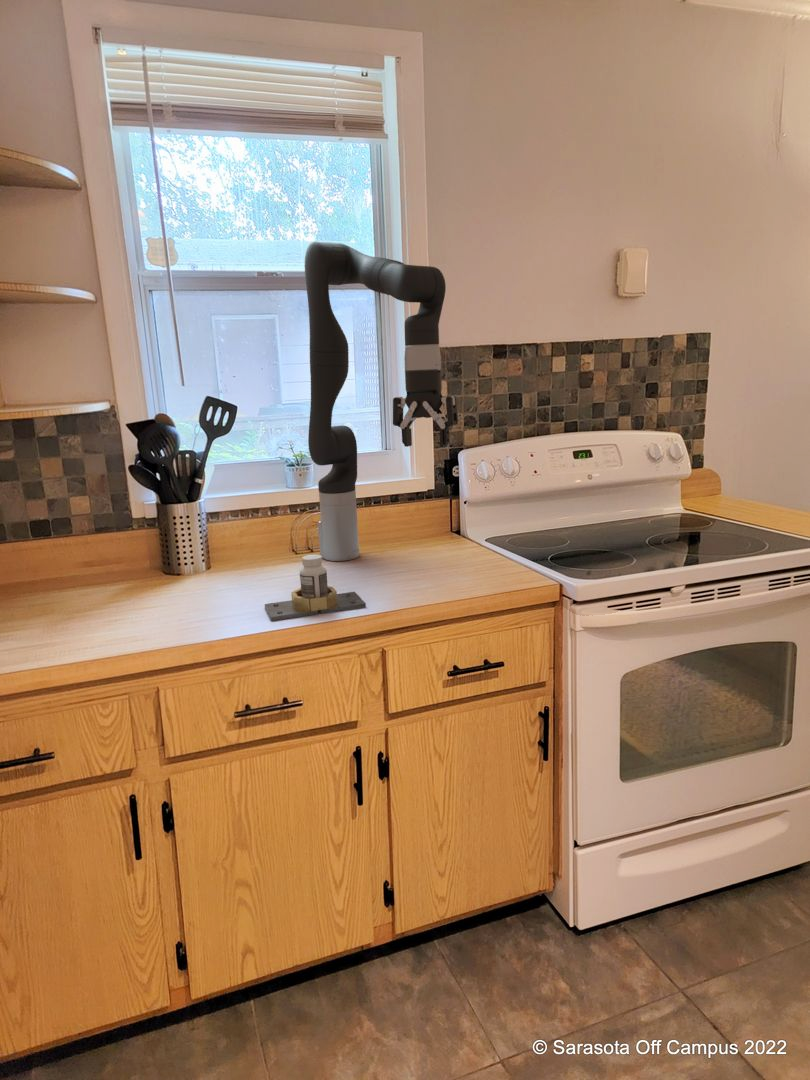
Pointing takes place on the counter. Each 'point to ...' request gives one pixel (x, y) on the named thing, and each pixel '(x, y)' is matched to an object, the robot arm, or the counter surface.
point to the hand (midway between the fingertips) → (425, 446)
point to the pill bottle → (313, 577)
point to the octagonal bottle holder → (313, 604)
